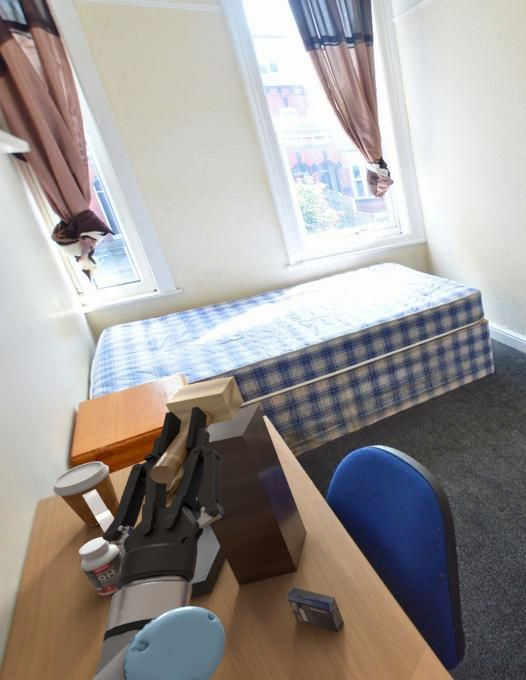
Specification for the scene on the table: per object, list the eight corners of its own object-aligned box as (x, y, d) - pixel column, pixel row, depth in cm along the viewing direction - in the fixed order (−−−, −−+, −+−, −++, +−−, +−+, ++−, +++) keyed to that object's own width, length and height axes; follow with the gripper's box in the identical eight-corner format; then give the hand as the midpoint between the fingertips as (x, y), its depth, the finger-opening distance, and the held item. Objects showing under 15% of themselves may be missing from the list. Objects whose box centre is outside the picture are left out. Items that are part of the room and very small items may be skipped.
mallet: (199, 475, 61) (185, 444, 59) (132, 490, 60) (115, 459, 58) (243, 401, 79) (233, 375, 77) (193, 411, 78) (181, 385, 76)
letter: (140, 561, 92) (117, 523, 88) (126, 569, 91) (103, 530, 87) (111, 517, 106) (90, 482, 102) (99, 524, 104) (78, 488, 100)
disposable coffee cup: (67, 527, 104) (40, 484, 99) (114, 498, 112) (91, 457, 107) (92, 536, 100) (65, 492, 96) (138, 505, 108) (115, 463, 104)
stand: (297, 571, 86) (242, 435, 74) (239, 586, 84) (173, 449, 72) (306, 531, 95) (258, 404, 83) (254, 544, 93) (198, 417, 82)
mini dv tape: (296, 620, 77) (285, 595, 74) (303, 612, 78) (292, 587, 75) (338, 632, 74) (328, 606, 72) (344, 623, 75) (334, 597, 73)
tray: (211, 592, 84) (205, 580, 82) (121, 616, 81) (113, 603, 80) (251, 497, 107) (246, 486, 106) (182, 513, 104) (176, 502, 103)
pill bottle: (111, 599, 85) (85, 560, 81) (91, 593, 86) (65, 554, 83) (140, 574, 89) (117, 536, 86) (121, 569, 91) (98, 531, 87)
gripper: (101, 610, 57) (142, 437, 70) (241, 574, 59) (254, 414, 73) (54, 599, 51) (110, 413, 64) (212, 561, 53) (233, 389, 67)
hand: (186, 414), depth 69 cm, fingers closed on mallet, 3 cm apart
